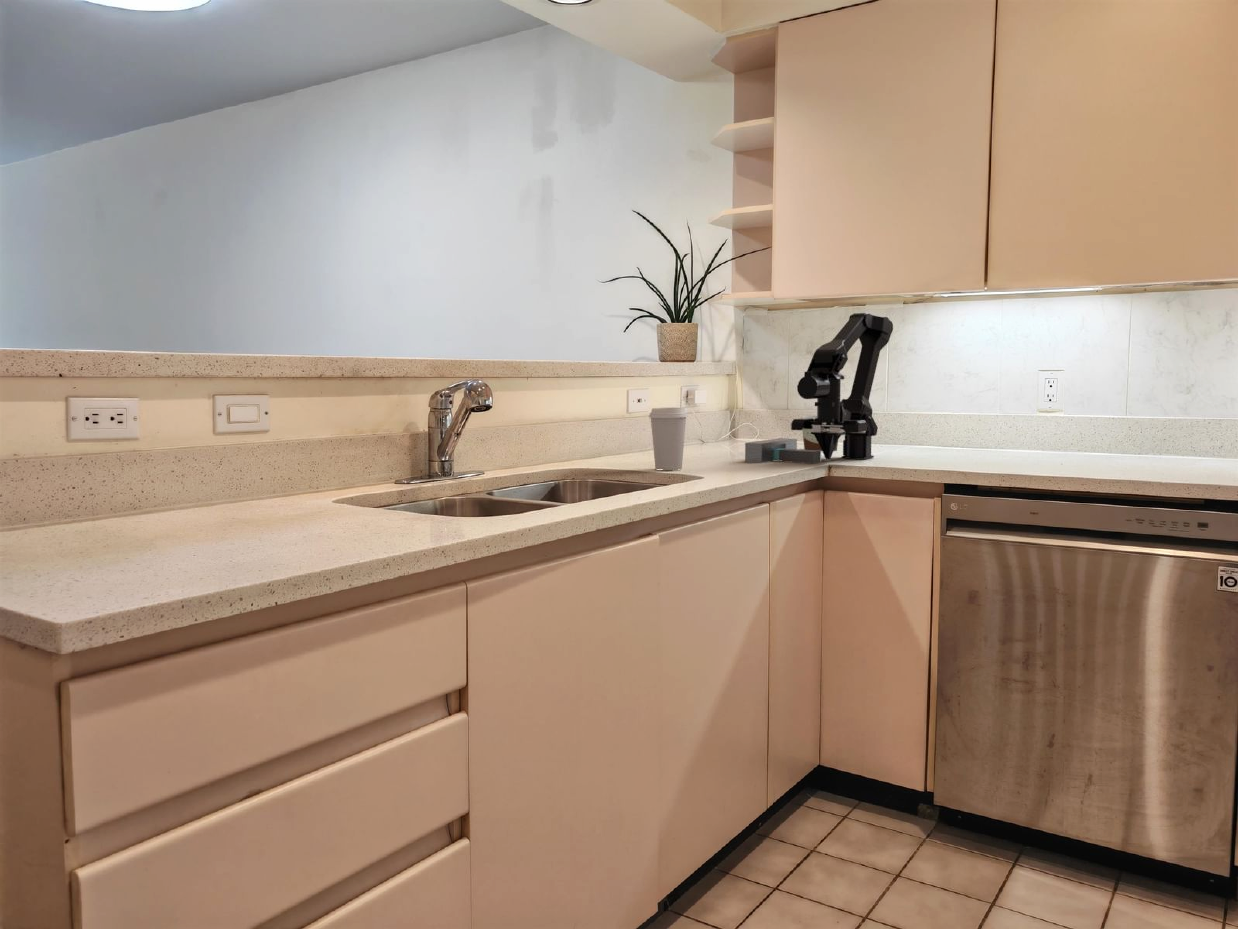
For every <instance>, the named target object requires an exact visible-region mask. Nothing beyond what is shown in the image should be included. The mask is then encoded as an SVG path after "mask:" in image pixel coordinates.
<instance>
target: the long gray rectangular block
mask: <svg viewBox="0 0 1238 929" xmlns="http://www.w3.org/2000/svg"><path fill="white" fill-rule="evenodd" d="M744 447H745V448H744V449H745V450H744V452H745V454H744V463H755V462H764V463H768V462H767V461H770V462H774V461H773V460H774V449H775V448H783V449H798V438H788V437H785V438H783V437H780V438H774V439H773V438H771V439H765V440H757V441H750V442H744Z"/></svg>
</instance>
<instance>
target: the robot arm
mask: <svg viewBox="0 0 1238 929" xmlns="http://www.w3.org/2000/svg"><path fill="white" fill-rule="evenodd" d="M848 318H849V319H848V320H847V322H846V323H845V325H844V326H843V327H842V328H841V329H840V330H839V331H838V332H837V333H836V335H835V336H834V338H833V339H832V340H831V341H828V342H827V343H824V344H822V345H820V346H819V347H818V348H817V349H816V350H815V351H814V353H813V356H812V357H811V360H810V363H809V365H808V367H807V370H806V371H804V376H803V377H801V378H800V379H799V381H798V383H797V385H796V386H797V387H796V389H797V393H798V395H799V396H800V397H801V398H802V399H804V400H814V399H816V400H817V401H815V402H814V407H816V416H817V418H815V421H814V419H806V418H801V417H800V418H794V419H792V421H791V424H790V430H791V431H802V429H812V432H811V434H814V436H815V437H816V439H817V441H818V443H819V445H820V447H821V449H822V451H821V452H822V453H823V456H824V457H825V458H824V459H826V460H831V458H832V456H833V453H834V452H835V451H834V448H835V445H836V443H837V441H838V442H839V440H840V438H841V436H844V440H842V455H841V459H854V460H855V459H856V460H867V459H871V458H872V459H873V458H874V457H875V455H873V454H872V437H875V436H877V434H878V425H877V423H876V422H875V420H874V417H873V408H872V406H871V403H870V397H871V392H872V387H873V384H874V379H875V374H876V371H877V367H878V366H877V365H878V361H879V358H880V353H881V351H882V350H883V348H884V347H885V346H887V344H888V343H889V341H890V338H891V336H892V333H893V330H894V324H893V322H892V320H890V318H889V316H878V315H873V314H871V313H868V312H859V313H856V312H855V313H853V314H851V315H849V317H848ZM858 340H859V342H860V344H861V349H860V354H859V356H858V361H857V365H856V370H855V375H854V378H853V383H852V387H851V391H850V395H849V396H848V397H847V398H843V399H841V382H842V381H841V380H844V379H845V376H844V375H843V374H842V373H841V371H842V370H843V369H844V367H845V365H846V364H847V361H849V360H848V359H849V357H848V353H849V351H850V350H851V349H852V347H853V346H854V345H855V344H856V343H857V341H858ZM822 423H826V424H822ZM831 423H832V424H831ZM827 429H830V431H827Z"/></svg>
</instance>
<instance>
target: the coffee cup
mask: <svg viewBox="0 0 1238 929" xmlns="http://www.w3.org/2000/svg"><path fill="white" fill-rule="evenodd" d="M688 417H689V416H688V413H687V411H686V409H685V407H654V408H651V410H650V412H649V415H648V418H649V419H650V426H651V427H650V428H651V436H652V446H653V447H652V448H653V456H654V467H655V470H656V469H663V470H677V471H679V470H678V469H683V460H684V447H685V435H686V434H685V433H686V425H687V424H686V422H687V418H688Z"/></svg>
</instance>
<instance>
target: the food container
mask: <svg viewBox="0 0 1238 929" xmlns="http://www.w3.org/2000/svg"><path fill="white" fill-rule="evenodd" d="M801 418H806V419H814V421H815V418H817V415H804V416H803V415H802V416H801V417H800V419H801ZM822 424H826V423H822ZM831 424H832V423H831ZM801 431H802V440H803V441H802V442H803V450H819V451H821V452H823V451H822V449H821V447H820V445H819V443H818V441H817V439H816V437H815V436H814V434H811V432H812V429H802V430H801ZM827 431H830V429H827ZM838 446H839V440H838V441H837V443H836V445H835V448H834V451H833V452H837V451H838Z"/></svg>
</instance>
